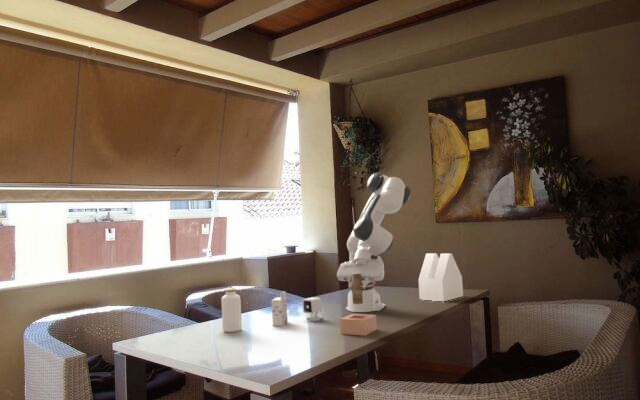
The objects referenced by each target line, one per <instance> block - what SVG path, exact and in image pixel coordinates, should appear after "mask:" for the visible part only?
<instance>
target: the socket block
mask: <svg viewBox="0 0 640 400" xmlns="http://www.w3.org/2000/svg"><path fill="white" fill-rule="evenodd" d="M339 321H340V322H339V323H340V334H342V335H353V336H364V337H365V336H367V335H368V336H369V334H371V333H373V332H375V331H377V329H378V326H377V315H376V314H364V313H362V314H361V313H351V314H349V315H346V316H343V317H341V318H340V319H339Z"/></svg>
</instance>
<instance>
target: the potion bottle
mask: <svg viewBox="0 0 640 400" xmlns="http://www.w3.org/2000/svg"><path fill="white" fill-rule="evenodd" d="M236 291H237V290H236V289H235V288H229V289H225V294H224V295H223V296H221V318H222V320H221V321H222V330H223V332H225V333H236V332H239V331H241V330H242V329H243V328H242V327H243V323H242V305H241V303H242V302H241V296H240V294H237V293H236Z"/></svg>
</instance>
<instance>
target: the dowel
mask: <svg viewBox="0 0 640 400" xmlns="http://www.w3.org/2000/svg"><path fill="white" fill-rule="evenodd" d="M351 276H352V293H353V304H362V303H363V297H362V289H361V283H362V281H361V274H360V273H355V274H351Z"/></svg>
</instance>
